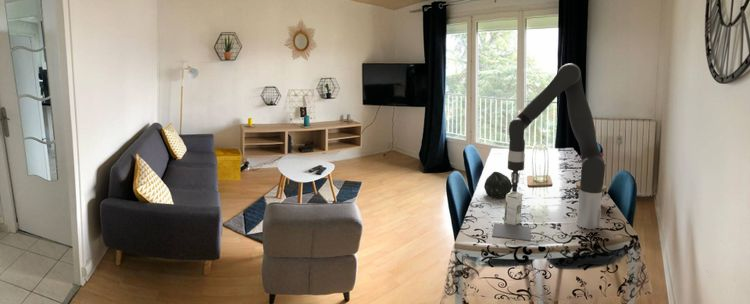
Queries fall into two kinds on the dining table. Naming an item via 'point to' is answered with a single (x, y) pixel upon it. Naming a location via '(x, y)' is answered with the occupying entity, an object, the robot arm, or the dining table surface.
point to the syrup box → (513, 208)
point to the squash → (497, 185)
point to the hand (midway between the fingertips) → (514, 194)
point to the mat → (511, 231)
